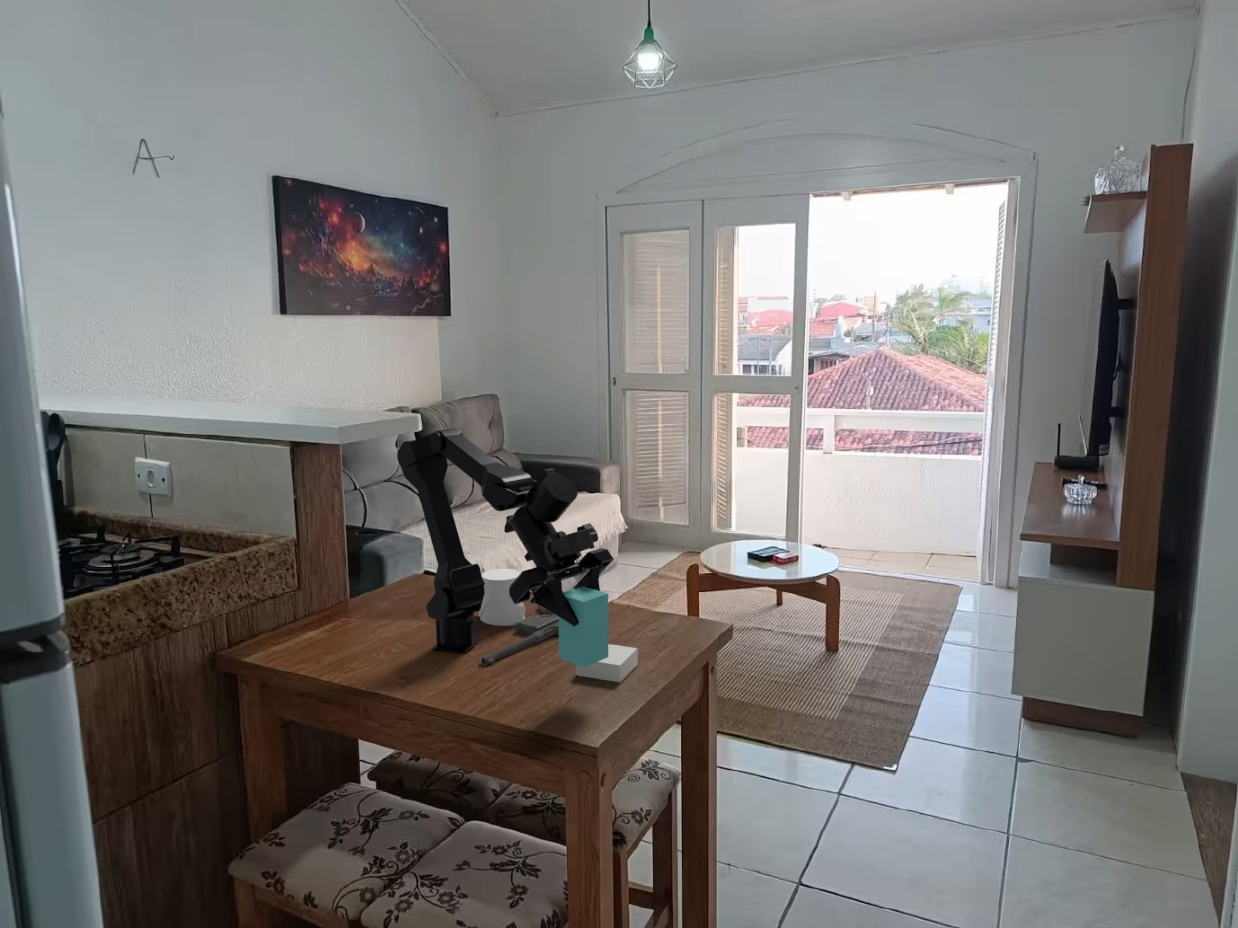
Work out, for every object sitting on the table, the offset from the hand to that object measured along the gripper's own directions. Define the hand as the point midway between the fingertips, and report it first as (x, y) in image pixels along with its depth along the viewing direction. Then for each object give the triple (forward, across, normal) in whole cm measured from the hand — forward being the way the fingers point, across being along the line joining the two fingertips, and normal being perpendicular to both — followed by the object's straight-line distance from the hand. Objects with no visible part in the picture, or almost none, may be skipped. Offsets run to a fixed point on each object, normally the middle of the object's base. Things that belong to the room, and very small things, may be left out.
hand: (589, 619), depth 136 cm
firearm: (-11, +13, +32) cm, 36 cm away
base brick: (+5, +11, +14) cm, 18 cm away
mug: (-19, +15, +38) cm, 45 cm away
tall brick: (+4, 0, +6) cm, 7 cm away
